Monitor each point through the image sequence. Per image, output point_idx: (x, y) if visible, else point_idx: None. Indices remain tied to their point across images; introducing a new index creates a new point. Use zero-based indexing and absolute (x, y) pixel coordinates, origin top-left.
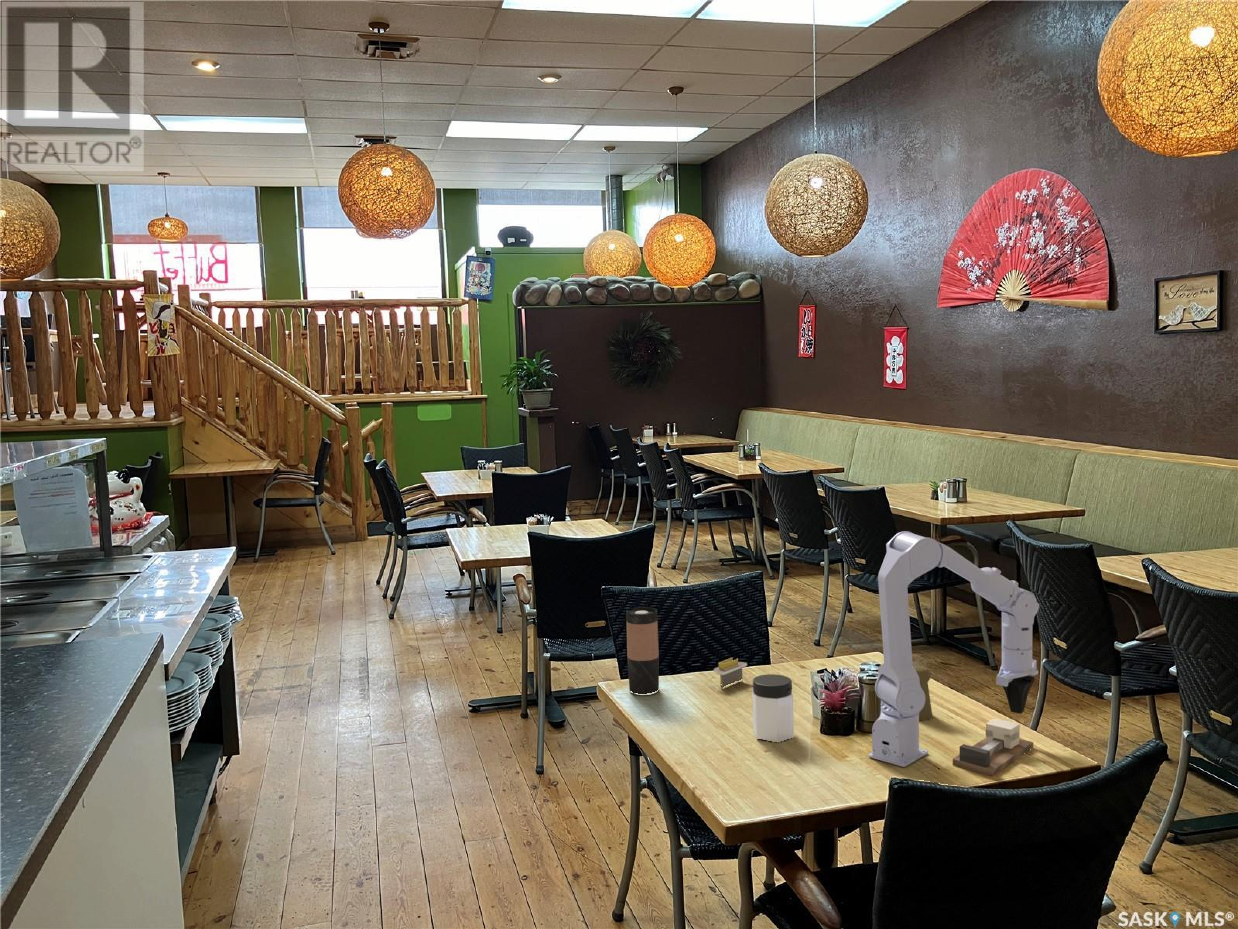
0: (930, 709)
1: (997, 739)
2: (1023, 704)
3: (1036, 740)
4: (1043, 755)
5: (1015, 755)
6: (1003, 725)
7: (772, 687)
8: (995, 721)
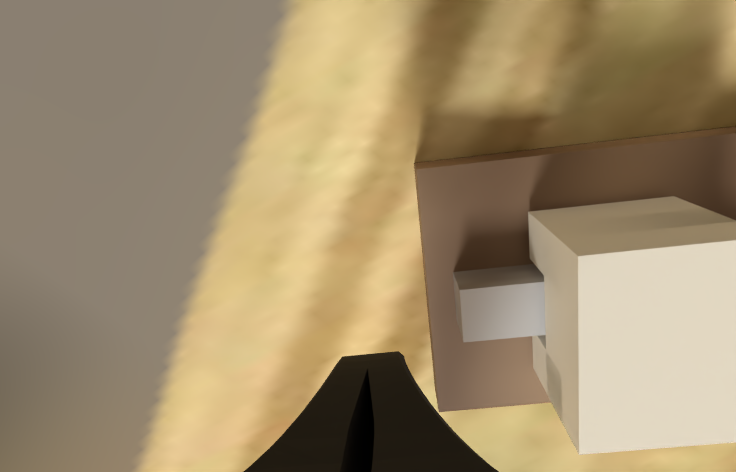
0: None
1: None
2: (378, 387)
3: (278, 215)
4: (483, 53)
5: (717, 134)
6: (708, 330)
7: None
8: (651, 417)
